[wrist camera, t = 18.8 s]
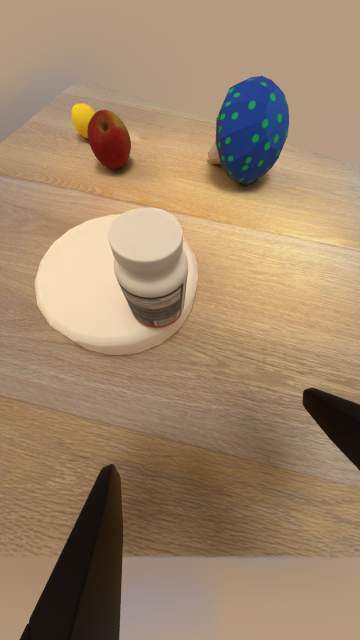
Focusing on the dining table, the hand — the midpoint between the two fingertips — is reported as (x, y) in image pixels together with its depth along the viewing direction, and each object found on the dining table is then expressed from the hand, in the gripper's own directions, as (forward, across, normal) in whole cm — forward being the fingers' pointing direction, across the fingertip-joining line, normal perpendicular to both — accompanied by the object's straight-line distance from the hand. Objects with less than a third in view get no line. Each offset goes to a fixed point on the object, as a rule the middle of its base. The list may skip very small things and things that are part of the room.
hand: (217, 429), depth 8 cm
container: (+23, +3, -3) cm, 23 cm away
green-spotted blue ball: (+38, -24, -18) cm, 48 cm away
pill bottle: (+15, 0, -2) cm, 15 cm away
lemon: (+53, +3, -33) cm, 63 cm away
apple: (+44, 0, -24) cm, 50 cm away
